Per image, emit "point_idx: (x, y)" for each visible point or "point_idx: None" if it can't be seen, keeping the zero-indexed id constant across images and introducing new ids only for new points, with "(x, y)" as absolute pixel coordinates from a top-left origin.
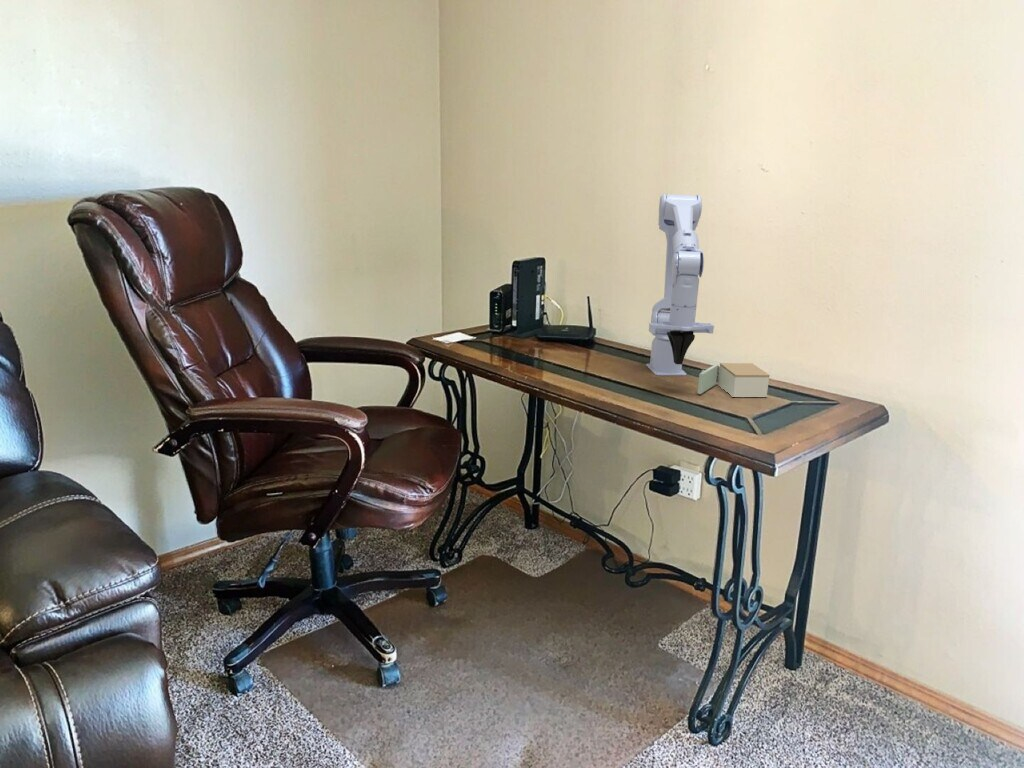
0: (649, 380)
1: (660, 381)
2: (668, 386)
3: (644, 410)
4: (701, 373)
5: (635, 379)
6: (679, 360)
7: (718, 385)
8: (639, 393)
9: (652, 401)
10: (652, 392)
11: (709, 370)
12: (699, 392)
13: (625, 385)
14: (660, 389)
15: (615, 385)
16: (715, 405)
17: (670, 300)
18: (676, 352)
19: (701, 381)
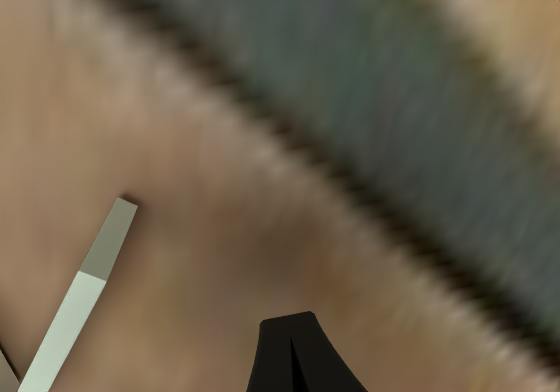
0: None
1: None
2: None
3: None
4: (89, 287)
5: (420, 381)
6: (294, 335)
7: (13, 376)
8: (462, 185)
9: (429, 47)
10: (387, 215)
11: (26, 374)
12: (123, 204)
13: (494, 294)
14: (333, 270)
15: (542, 284)
16: (21, 26)
17: None
18: (360, 386)
19: (99, 239)
